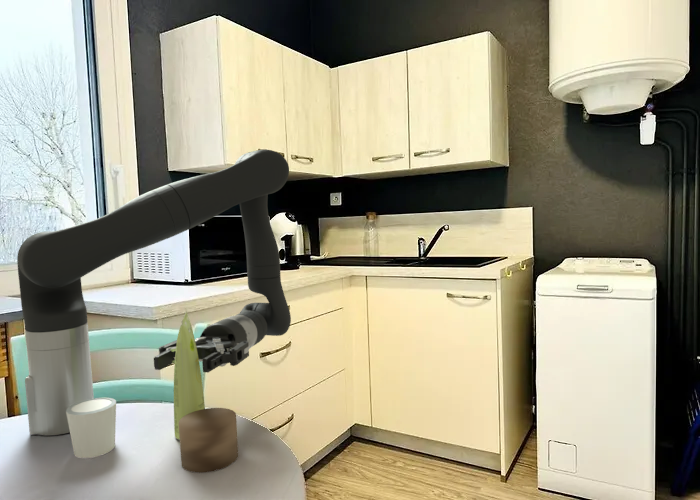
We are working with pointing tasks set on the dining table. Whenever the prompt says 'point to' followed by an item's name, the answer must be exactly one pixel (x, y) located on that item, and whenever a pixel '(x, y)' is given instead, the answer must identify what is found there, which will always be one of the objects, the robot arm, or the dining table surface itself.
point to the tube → (186, 375)
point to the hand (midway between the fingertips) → (180, 365)
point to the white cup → (92, 426)
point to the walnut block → (208, 440)
